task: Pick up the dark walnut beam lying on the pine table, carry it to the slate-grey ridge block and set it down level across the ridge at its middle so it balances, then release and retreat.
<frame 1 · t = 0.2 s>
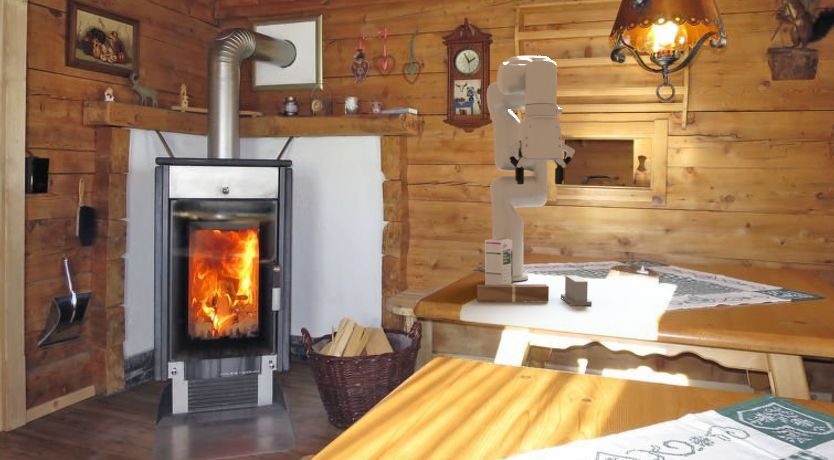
hand: (539, 184, 172), 30 cm above the table, fingers open, 9 cm apart
beam: (512, 300, 183), on the table
ridge block: (575, 301, 182), on the table
syrup box: (498, 290, 199), on the table
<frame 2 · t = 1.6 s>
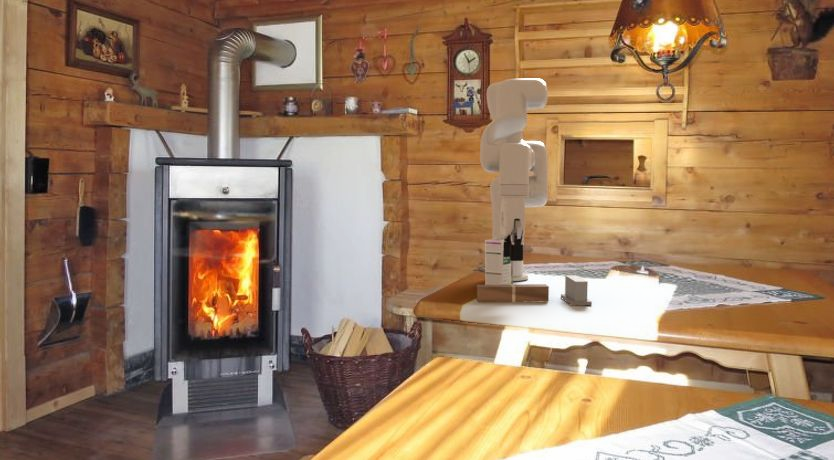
hand: (513, 258, 181), 11 cm above the table, fingers open, 9 cm apart
nothing on the table moved.
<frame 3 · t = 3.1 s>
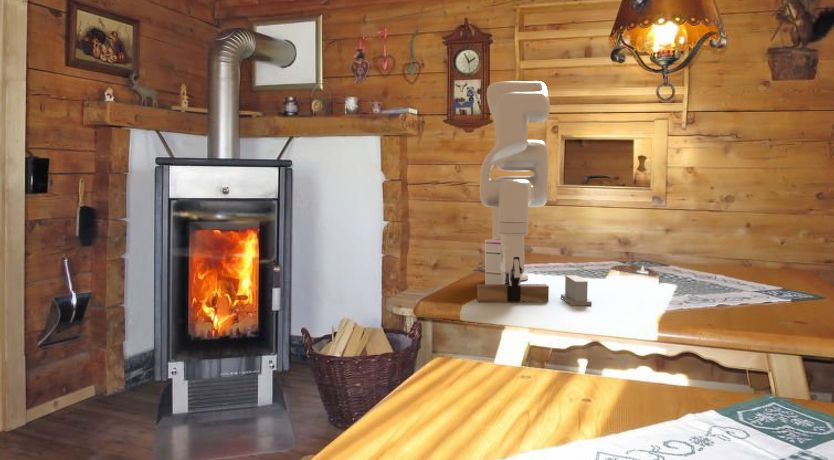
hand: (512, 298, 183), 0 cm above the table, fingers closed on beam, 3 cm apart
beam: (512, 300, 183), on the table, touching gripper
everything else where it was.
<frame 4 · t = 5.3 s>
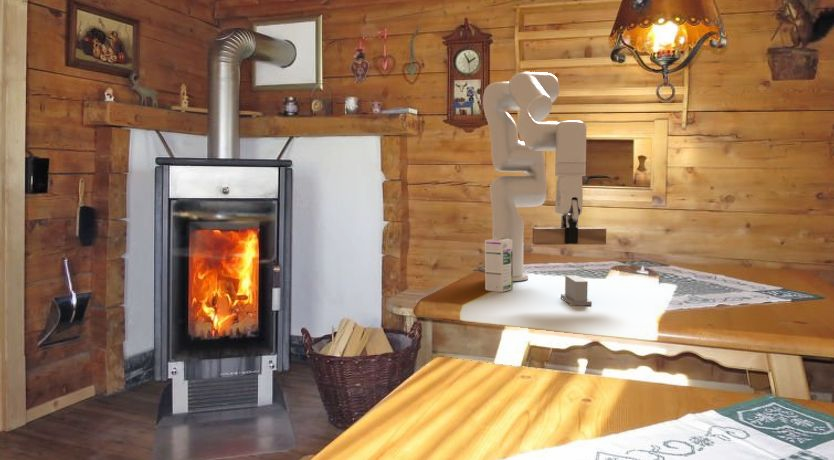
hand: (569, 242, 180), 15 cm above the table, fingers closed on beam, 3 cm apart
beam: (568, 243, 180), point 15 cm above the table, touching gripper
everything else where it was.
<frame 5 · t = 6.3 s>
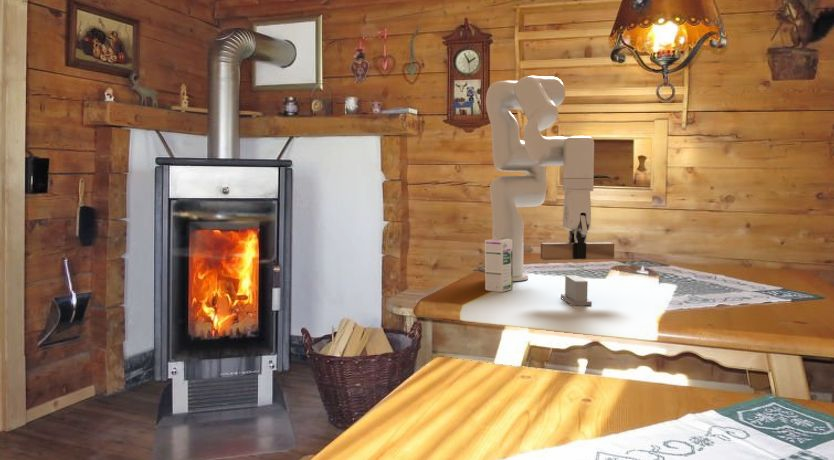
hand: (577, 257, 180), 12 cm above the table, fingers closed on beam, 3 cm apart
beam: (577, 258, 180), point 11 cm above the table, touching gripper
everything else where it was.
when the fingers open (7 cm above the table, at t = 7.3 s): beam stays where it is, resting on ridge block.
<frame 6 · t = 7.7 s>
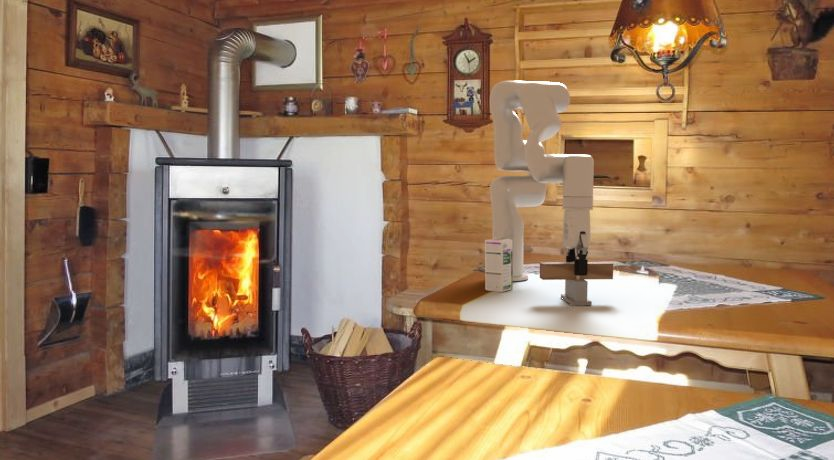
hand: (576, 272, 181), 8 cm above the table, fingers open, 7 cm apart
beam: (576, 278, 181), point 6 cm above the table, touching ridge block
everything else where it was.
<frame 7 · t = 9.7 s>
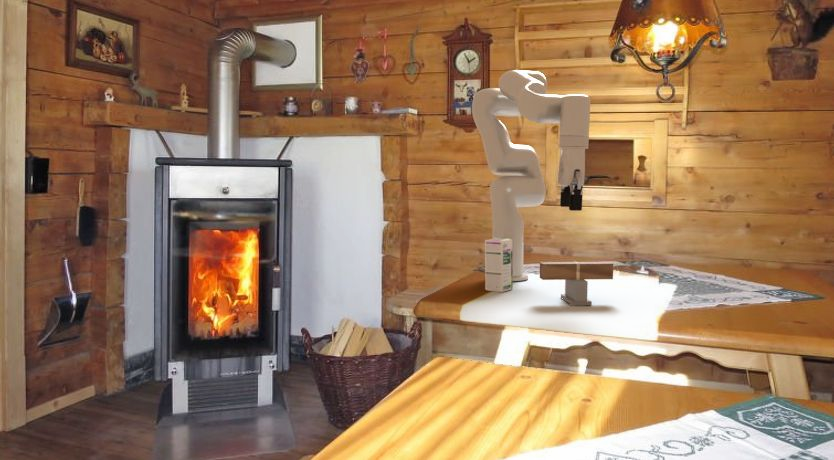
hand: (570, 208, 187), 24 cm above the table, fingers open, 9 cm apart
nothing on the table moved.
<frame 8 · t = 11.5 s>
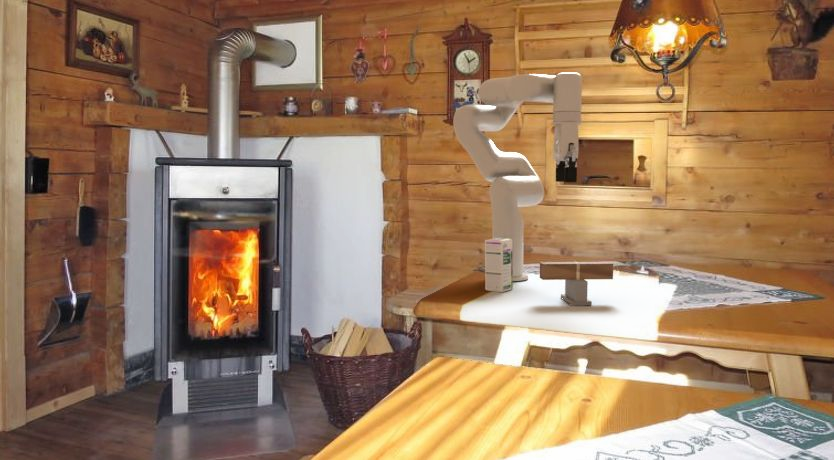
hand: (565, 181, 195), 30 cm above the table, fingers open, 9 cm apart
nothing on the table moved.
at the end: beam 0.0 cm off-centre on the ridge block, point 6.0 cm above the ridge block's base; beam tilted 0°; beam touching ridge block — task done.
